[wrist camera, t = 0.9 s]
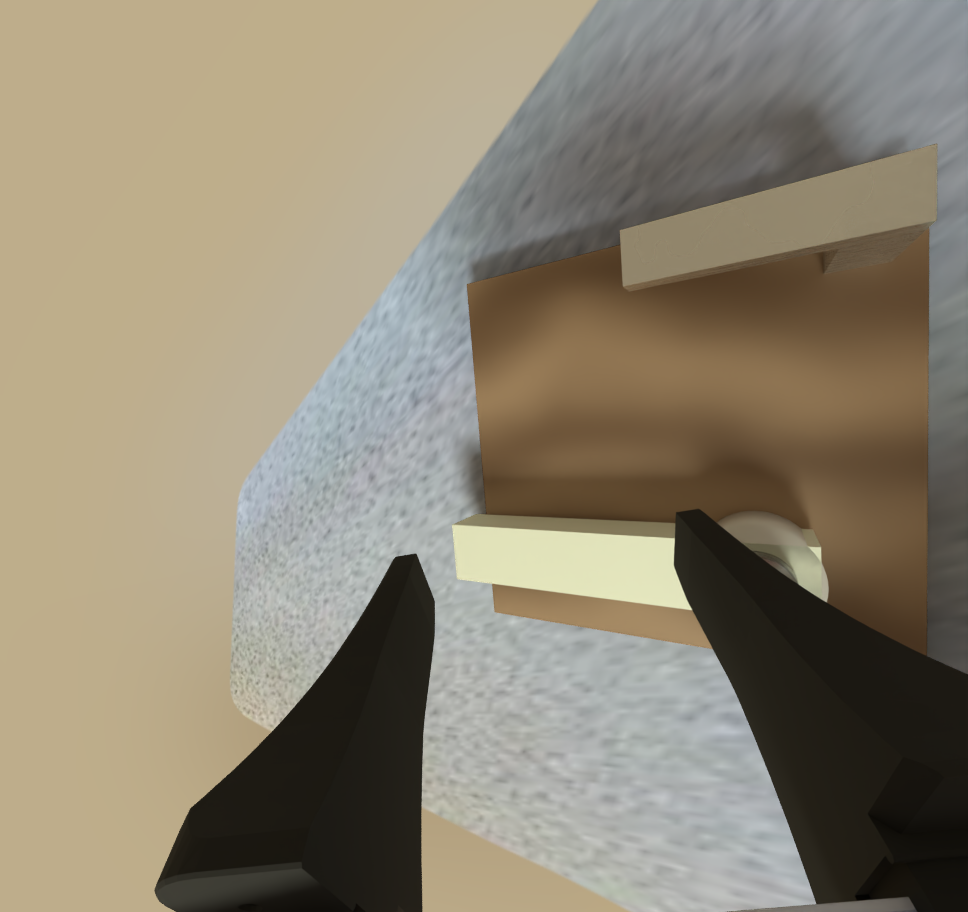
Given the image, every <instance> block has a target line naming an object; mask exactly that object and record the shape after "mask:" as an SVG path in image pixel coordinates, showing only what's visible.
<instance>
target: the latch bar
mask: <svg viewBox="0 0 968 912" xmlns="http://www.w3.org/2000/svg"><path fill="white" fill-rule="evenodd" d="M716 523H718V524H719V525H720V526H721V527H723V528H724V529H725V530H726V531H728V532H729V533H730V534H731V535H732V536H734V537H735V538H736V539H738V540H739V541H740V542H741V543H743V544H744V545H745V546H746V547H748V548H749V549H750V550H752V551H761V552H766V553H769V554H772V555H774V556H776V557H778V558H780V559H781V560H783V561H784V562H785V563H786V564H787V565H788V566H790V568H791V569H792V570H793V572H794V573H795V575H796V577H797V580H798V584H799V585H800V586H802V587H803V588H805V589H806V590H808V591H809V592H811V593H812V594H814V595H815V596H817V597H819V598H820V599H822V600H823V601H825V602H827V599H828V591H829V587H828V579H827V575H826V572H825V570H824V567H823V565H822V562H821V546H820V544H819V542H818V539H817V537H816V535H815V533H814V530H813V529H801V528H800V527H799V526H797V525H796V524H794V523H793V522H791V521H790V520H788V519H786V518H784V517H781V516H779V515H776V514H773V513H769V512H764V511H743V512H738V513H734V514H731V515H728V516H726V517H724V518H722V519H721V520H719V521H718V522H716ZM452 528H453V539H454V549H455V560H456V571H457V579H461V580H469V581H476V582H484V583H491V584H499V585H506V586H514V587H521V588H529V589H536V590H544V591H551V592H559V593H566V594H574V595H581V596H589V597H596V598H604V599H611V600H619V601H626V602H634V603H642V604H649V605H657V606H664V607H672V608H679V609H687V610H692V609H691V607H690V605H689V603H688V601H687V599H686V596H685V594H684V591H683V589H682V586H681V584H680V581H679V578H678V576H677V573H676V570H675V568H674V544H675V523H662V522H640V521H618V520H596V519H574V518H552V517H530V516H508V515H486V514H475V515H473V516H471V517H469V518H466V519H464V520H462V521H460V522H457V523H455V524H453V525H452Z"/></svg>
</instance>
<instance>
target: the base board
mask: <svg viewBox="0 0 968 912" xmlns="http://www.w3.org/2000/svg"><path fill="white" fill-rule="evenodd" d="M467 292H468V304H469V316H470V328H471V339H472V351H473V363H474V375H475V386H476V398H477V410H478V422H479V434H480V445H481V457H482V469H483V481H484V493H485V504H486V515H508V516H530V517H552V518H574V519H596V520H618V521H640V522H662V523H675V520H676V512H681V511H687V510H694V509H700V510H702V511H703V512H704V513H706V514H707V515H708V516H709V517H710V518H712V519H713V520H714V521H715V522H718V521H719V520H721V519H722V518H724V517H726V516H728V515H731V514H734V513H738V512H743V511H764V512H769V513H773V514H776V515H779V516H781V517H784V518H786V519H788V520H790V521H791V522H793V523H794V524H796V525H797V526H799V527H800V528H801V529H813V530H814V533H815V535H816V537H817V539H818V542H819V544H820V546H821V562H822V565H823V567H824V570H825V572H826V575H827V579H828V587H829V591H828V599H827V603H829V604H830V605H832V606H834V607H835V608H837V609H839V610H840V611H842V612H844V613H845V614H847V615H849V616H850V617H852V618H854V619H856V620H858V621H859V622H861V623H863V624H865V625H867V626H868V627H870V628H872V629H874V630H876V631H878V632H880V633H882V634H884V635H886V636H888V637H890V638H892V639H893V640H895V641H897V642H899V643H901V644H903V645H905V646H907V647H909V648H911V649H913V650H915V651H917V652H919V653H921V654H924V655H926V656H927V534H928V353H929V228H928V229H927V230H926V231H925V232H923V233H922V234H921V235H920V236H919V237H918V238H917V239H916V240H915V241H914V242H913V243H912V244H910V245H909V246H908V247H907V248H906V249H905V250H904V251H903V252H902V253H901V254H900V255H898V256H897V257H896V258H895V259H894V260H893V261H892V262H888V263H882V264H877V265H871V266H866V267H860V268H855V269H850V270H844V271H839V272H833V273H828V274H823V252H820V253H815V254H810V255H806V256H801V257H796V258H791V259H786V260H781V261H776V262H771V263H766V264H761V265H756V266H752V267H747V268H742V269H737V270H732V271H727V272H722V273H717V274H712V275H707V276H702V277H698V278H693V279H688V280H683V281H678V282H673V283H668V284H663V285H658V286H653V287H648V288H644V289H639V290H634V291H628V290H627V289H625V288H624V287H623V281H622V263H621V245H617V246H614V247H610V248H606V249H602V250H598V251H594V252H590V253H586V254H582V255H578V256H575V257H571V258H567V259H563V260H559V261H555V262H551V263H547V264H543V265H540V266H536V267H532V268H528V269H524V270H520V271H516V272H512V273H508V274H504V275H501V276H497V277H493V278H489V279H485V280H481V281H477V282H473V283H469V284H467ZM492 587H493V599H494V610H495V612H497V613H503V614H509V615H515V616H521V617H526V618H532V619H538V620H544V621H550V622H556V623H562V624H568V625H574V626H580V627H586V628H592V629H597V630H603V631H609V632H615V633H621V634H627V635H633V636H639V637H645V638H651V639H657V640H663V641H669V642H674V643H680V644H686V645H692V646H698V647H704V648H710V649H713V648H712V646H711V644H710V643H709V641H708V639H707V637H706V635H705V633H704V631H703V630H702V628H701V626H700V624H699V622H698V620H697V618H696V616H695V614H694V613H693V611H692V610H687V609H679V608H672V607H664V606H657V605H649V604H642V603H634V602H626V601H619V600H611V599H604V598H596V597H589V596H581V595H574V594H566V593H559V592H551V591H544V590H536V589H529V588H521V587H514V586H506V585H499V584H492Z"/></svg>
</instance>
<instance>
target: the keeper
mask: <svg viewBox="0 0 968 912" xmlns="http://www.w3.org/2000/svg"><path fill="white" fill-rule="evenodd" d="M936 220H937V144H934V145H930V146H926V147H923V148H919V149H915V150H912V151H908V152H904V153H901V154H897V155H893V156H890V157H886V158H882V159H879V160H875V161H871V162H868V163H864V164H860V165H857V166H853V167H849V168H846V169H842V170H838V171H835V172H831V173H827V174H824V175H820V176H816V177H813V178H809V179H805V180H802V181H798V182H794V183H791V184H787V185H783V186H780V187H776V188H772V189H769V190H765V191H761V192H758V193H754V194H751V195H747V196H743V197H740V198H736V199H732V200H729V201H725V202H721V203H718V204H714V205H710V206H707V207H703V208H699V209H696V210H692V211H688V212H685V213H681V214H677V215H674V216H670V217H666V218H663V219H659V220H655V221H652V222H648V223H644V224H641V225H637V226H633V227H630V228H626V229H622V230H620V244H621V263H622V281H623V287H624V288H625V289H627V290H628V291H634V290H639V289H644V288H648V287H653V286H658V285H663V284H668V283H673V282H678V281H683V280H688V279H693V278H698V277H702V276H707V275H712V274H717V273H722V272H727V271H732V270H737V269H742V268H747V267H752V266H756V265H761V264H766V263H771V262H776V261H781V260H786V259H791V258H796V257H801V256H806V255H810V254H815V253H820V252H823V274H828V273H833V272H839V271H844V270H850V269H855V268H860V267H866V266H871V265H877V264H882V263H888V262H892V261H893V260H894V259H895V258H896V257H897V256H898V255H900V254H901V253H902V252H903V251H904V250H905V249H906V248H907V247H908V246H909V245H910V244H912V243H913V242H914V241H915V240H916V239H917V238H918V237H919V236H920V235H921V234H922V233H923V232H925V231H926V230H927V229H928V228H929V227H930V226H931V225H932V224H933V223H934V222H935V221H936Z"/></svg>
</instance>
